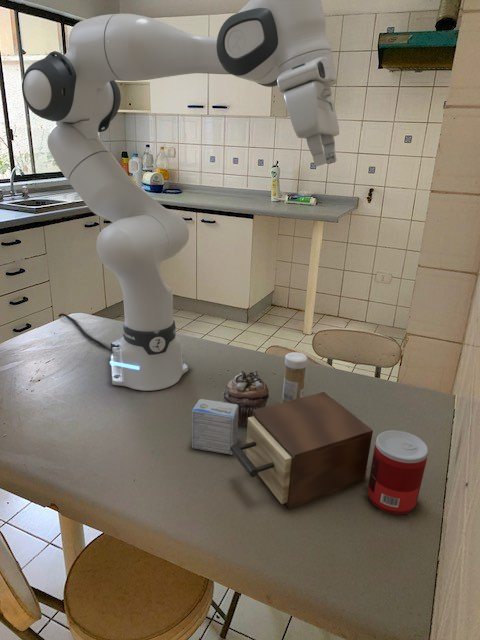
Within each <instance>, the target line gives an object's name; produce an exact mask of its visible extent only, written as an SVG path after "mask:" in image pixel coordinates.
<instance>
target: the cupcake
mask: <svg viewBox="0 0 480 640" xmlns="http://www.w3.org/2000/svg"><path fill="white" fill-rule="evenodd" d="M269 398H270V394H269V387H268V385H267V383H266V382H265V381H264V380H263V379H262V378H261V375H260V373H259V370H254V371H251V372H249V374H247V373H246V372H245V371H243V370H241V371H240V373H239V374H237V375H236V376H234V378H233V379H231V380H230V381H229V382H227V383H226V388H225V389H224V390H223V392H222V402H224V403H230V404H237V405H238V426H247V423H248V417H252V410H254V409H258V408H262V407H266V406H267V403H268V401H269Z"/></svg>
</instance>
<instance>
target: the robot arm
mask: <svg viewBox="0 0 480 640" xmlns="http://www.w3.org/2000/svg"><path fill="white" fill-rule="evenodd" d="M326 22H327V21H326V17H325V13H324V8H323V2H322V0H249V1H248V2H247V3H246V4H245V5H244V6H243V7H242V8H241V9H240V10H239V11H237V12H236V13H234V14H232V15H230V16H229V17H228V18H227V19H226V20H225V21H224V22H223V23H222V25H221V27H220V29H219V30H218V34H217V36H206V35H205V36H204V35H198V34H194V33H191V32H187V31H184V30H182V29H179V28H177V27H174V26H173V25H169V24H167V23H165V22H163V21H160V20H158V19H155V18H153V17H148V16H145V15H141V14H135V13H110V14H109V13H108V14H102V15H97V16H93V17H89V18H86V19H84V20H81V21H78V22H77V23H75V24H74V25H73V27H72V28H71V30H70V32H69V36H68V49H67V51H66V53H64V54H63V53H61V52H59V51H56V50H54V51H51V52H49V53H48V54H47V55H46V56H45V57H44V58H42V59H39V60H36V61H35V62H33V63H32V64H30V65H29V66H28V67H27V68H26V70H25V72H24V74H23V76H22V80H21V93H22V97H23V100H24V102H25V104H26V106H27V108H28V109H29V111H31V112H32V113H33V114H34V115H36V116H37V117H39V118H41V119H44V120H47V121H50V122H55V126H54V127H53V128H51V130H50V132H49V133H48V136H47V141H46V142H47V149H48V150H49V152H50V155H51V157H52V158H53V160H54V162H55V164H56V165H57V167H58V168H59V169H58V170H60V172H61V173H62V175H63V176H64V178H65V179H66V180H67V182H68V183H69V184H70V186H71V188H72V189H74V191H75V192H76V194H77V195H78V196H79V197H80V199H81V200H82V201H83V203H84V204H85V205H86V206H87V208H88V209H89V210H90V211H91V212H92V213H93V214H94V215H97V216H98V217H100V218H103V219H105V220H107V221H109V222H111V223H110V224H109V225H107V226H106V227H104V228H103V229H102V230H101V231H99V233H98V235H97V238H96V243H95V247H96V252H97V256H98V258H99V260H100V262H101V263H102V265H103V266H104V267H105V268H106V269H108V270H109V271H111V272H112V273H113V275H114V276H115V277H116V279H117V282H118V283H119V286H120V291H121V294H122V301H123V312H124V322H123V325H122V336H121V337H120V338H119V339H117V340H115V341H112V342H110V348H109V347H107V346H106V345H105V344H104V343H102V342H101V341H100V340H98V339H96V338H94V337H92V336H90V335H89V334H88V333H87V332H86V331H85V330H84V329H83V327H82V326H81V325H80V324H79V322H77V320H76V319H74V318H72V317H71V316H70V315H68V314H66V313H59V314H58V317H59V318H61V317H65V318H67V319H68V320H70V321H72V322H73V323H74V324H75V326H76V327H77V328H78V329H79V331H80V333H82V334H83V335H84V336H85V337H86V338H87V339H89V340H90V341H92V342H94V343H96V344H98V345H99V346H100V347H101V348H103V349H106V350H107V351H109V352H112V353H111V355H110V361H109V365H110V371H111V373H110V374H111V384H112V385H114V386H120V387H127V388H129V389H132V390H136V391H147V392H148V391H158V390H164V389H167V388H169V387H172V386H173V385H175V384H177V383H178V382H179V381H180V380H181V378H182V376H183V375H184V374H185V373H187V372H188V371H189V365H188V364H186V363H185V362H183V361H184V360H183V349H182V342H181V340H179V339H178V338H177V336H176V335H177V333H176V332H177V326H176V321H175V319H174V293H173V290H172V288H171V286H170V285H168V284H167V283H166V282H165V281H164V278H163V276H162V271H161V263H162V262H164V261H166V260H169V259H172V258H174V257H175V256H176V255H177V254H179V253H180V252H181V251H182V250H183V249H184V248H185V247H186V246H187V244H188V242H189V238H190V231H189V226H188V224H187V222H186V221H185V219H184V218H183V217H182V216H181V215H180V214H179V213H176V212H174V211H172V210H169V209H168V208H166V207H164V206H163V205H162V204H161V203H160V202H158V201H157V200H156V199H155V198H153V197H152V196H151V195H150V194H148V193H147V192H146V191H145V190H144V189H142V188H141V187H140V186H139V185H138V184H137V183H136V182H135V181H134V180H133V179H132V178H131V177H130V175H129V174H128V173H127V171H126V170H125V168H123V167H122V165H121V164H120V162H118V160H117V159H116V158H115V157H114V155H113V154H112V153H111V151H110V150H109V149H108V148H107V147H106V145H105V144H104V143H103V141H102V139H101V137H100V135H99V133H102V132H105V131H107V130H108V128H109V127H110V124H111V122H112V121H113V120H114V118H115V117H116V116H117V114H118V112H119V110H120V108H121V107H120V106H121V100H122V95H121V89H120V87H119V85H118V83H117V81H118V82H139V81H140V82H141V81H149V80H157V79H163V78H169V77H176V76H183V75H192V74H213V75H232V76H234V77H236V78H239V79H242V80H246V81H248V82H253V83H256V84H258V85H261V86H263V87H267V88H272V87H276V86H277V87H278V90H279V92H280V93H282V94H283V97H284V101H285V105H286V109H287V113H288V115H289V118H290V119H289V120H290V122H291V125H292V128H293V131H294V133H295V135H296V137H297V138H298V139H306V140H305V141H306V144H307V147H308V149H309V152H310V154H311V156H312V160H313V164H314V166H316V167H319V166H323V165H332V164H335V163H336V162H337V161H338V160H337V155H336V141H335V137H337V136H339V135H340V125H339V121H338V117H337V113H336V108H335V104H334V100H333V97H332V95H333V94H332V89H331V87H333V86H334V85H336V83H337V82H338V77H337V73H336V68H335V63H334V62H335V61H334V58H333V54H332V53H333V52H332V48H331V45H330V44H329V42H328V39H327V34H326V26H327V24H326Z"/></svg>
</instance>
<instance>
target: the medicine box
mask: <svg viewBox="0 0 480 640" xmlns="http://www.w3.org/2000/svg"><path fill="white" fill-rule="evenodd" d="M238 426H239V425H238V405H237V404H230V403H224V402H223V401H217V400H210V399H203V398H199V399H198V400H197V402H196V404H195V405H194V407H193V408H192V410H191V433H192V434H191V448H192V449H196V450H202V451H208V452H212V453H213V452H214V453H218V454H225V455H230V456H233V455H234V454H233V453H232V451H231V446H232V445H234V444H238V431H239V430H238V429H239V428H238Z"/></svg>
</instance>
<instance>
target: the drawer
mask: <svg viewBox="0 0 480 640" xmlns="http://www.w3.org/2000/svg"><path fill="white" fill-rule="evenodd" d="M246 428H247V429H246V441H245V442H246V443H245V444H241V445H239V444H238V443H236V444H234V445H232V446H231V451H232V453H233V454H232V455H233V456H234V457H235V458H236V460H237V461H238V462H239V463H240V465H241V467H243V469H245V471H246V473H247V474H248V476H249V477H250V478H255V477H256V476H259V478H260V479H261V480H262V481H263V483H264V484H265V485H266V486H267V488H268V490H270V492H271V493H272V494H273V495H274V497H275V498H276V499H277V501H278V502H279V503H280V504H281V505H284V504H285V503H287V502H288V493H289V483H290V473H291V462H292V456H291V455H290V454H289V453H288V451H287V450H286V449H285V448H284V447H283V446H282V445H281V444H280V443H279V442H278V441H277V440H276V439H275V438H274V436H273V435H272V434H271V433H270V432H269V431H268V430H267V429H266V428H265V427H264V426H263V425H261V424H260V423H259V422H258V420H257V419H256V418H255V417H254V416H252V417H248V423H247V425H246ZM244 450H245V452H244Z"/></svg>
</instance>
